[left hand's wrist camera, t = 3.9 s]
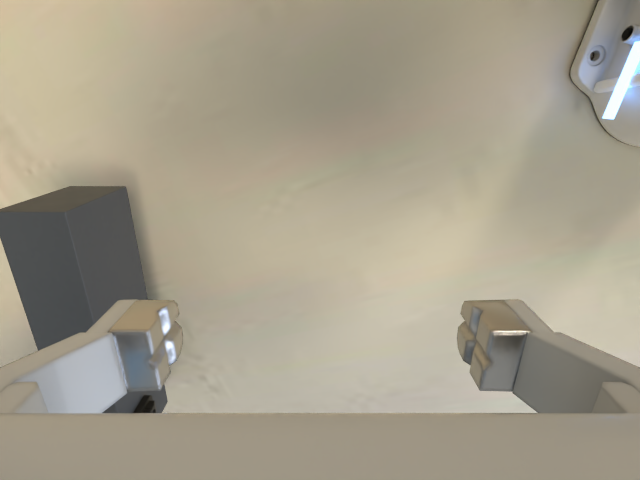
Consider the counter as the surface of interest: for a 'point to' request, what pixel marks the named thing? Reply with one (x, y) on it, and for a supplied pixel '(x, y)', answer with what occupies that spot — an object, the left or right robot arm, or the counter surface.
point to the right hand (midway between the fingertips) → (121, 401)
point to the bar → (75, 264)
